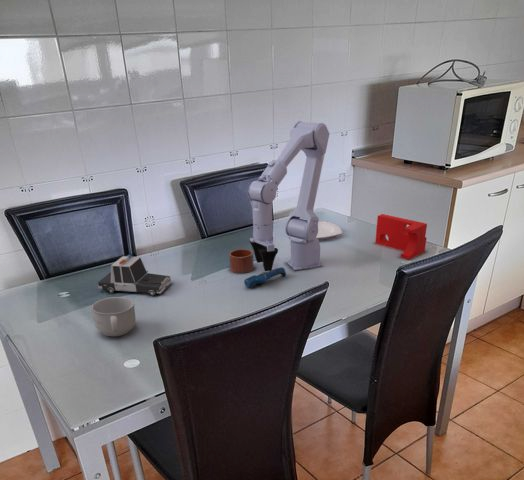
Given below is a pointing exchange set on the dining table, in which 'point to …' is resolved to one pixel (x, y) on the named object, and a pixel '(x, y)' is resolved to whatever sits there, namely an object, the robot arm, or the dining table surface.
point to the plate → (327, 230)
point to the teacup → (114, 315)
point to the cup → (241, 261)
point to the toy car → (133, 277)
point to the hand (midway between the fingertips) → (264, 266)
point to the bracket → (401, 235)
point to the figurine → (263, 277)
